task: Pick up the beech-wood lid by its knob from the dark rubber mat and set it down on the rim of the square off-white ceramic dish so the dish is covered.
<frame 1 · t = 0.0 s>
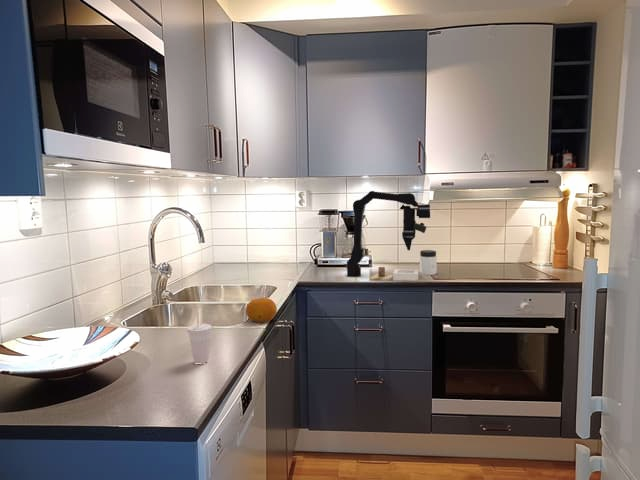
hand: (409, 249, 229), 15 cm above the countertop, tool pointing down, fingers open, 9 cm apart
lid: (381, 278, 228), resting on mat
dish: (405, 279, 227), on the countertop
smoothie: (201, 362, 122), on the countertop
jar: (427, 273, 241), on the countertop
fruit: (261, 321, 160), on the countertop
mat: (381, 279, 228), on the countertop
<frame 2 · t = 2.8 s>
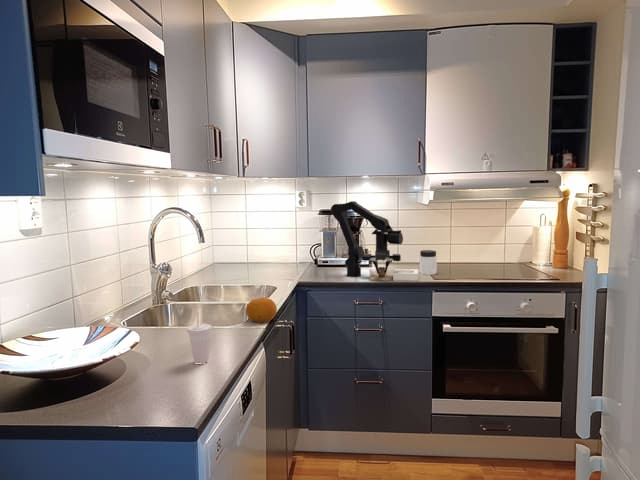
hand: (381, 274, 228), 2 cm above the countertop, tool pointing down, fingers closed on lid, 3 cm apart
lid: (381, 278, 228), resting on mat, touching gripper
everything else where it was.
when the fingers open (7 cm above the countertop, at t = 6.4 s): lid stays where it is, resting on dish.
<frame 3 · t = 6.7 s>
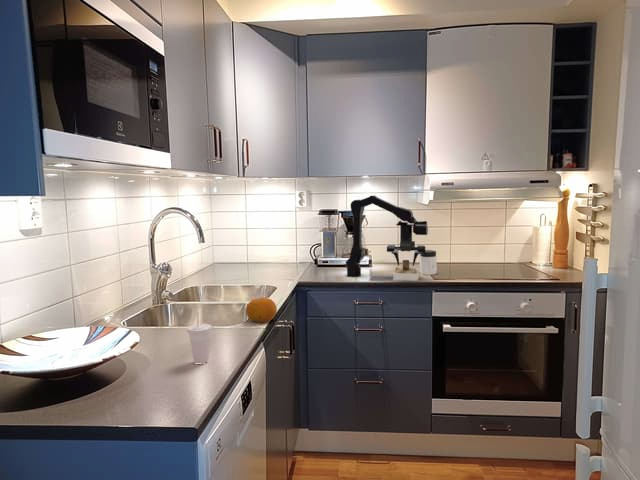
hand: (405, 265, 226), 7 cm above the countertop, tool pointing down, fingers open, 7 cm apart
lid: (405, 271, 226), point 4 cm above the countertop, touching dish
everything else where it was.
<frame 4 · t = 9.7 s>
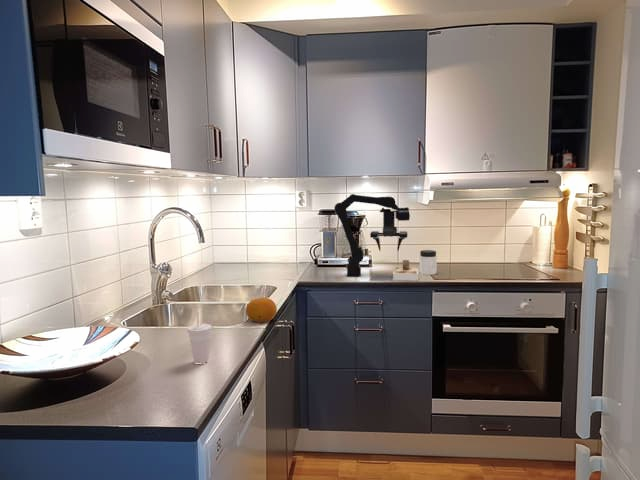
hand: (388, 251, 235), 13 cm above the countertop, tool pointing down, fingers open, 9 cm apart
nothing on the countertop moved.
at the end: lid 0.1 cm off-centre on the dish, point 4.0 cm above the dish's base; lid tilted 0°; the gripper is holding nothing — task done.
